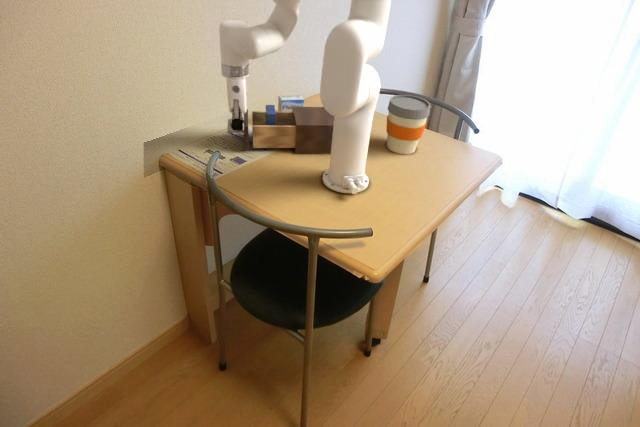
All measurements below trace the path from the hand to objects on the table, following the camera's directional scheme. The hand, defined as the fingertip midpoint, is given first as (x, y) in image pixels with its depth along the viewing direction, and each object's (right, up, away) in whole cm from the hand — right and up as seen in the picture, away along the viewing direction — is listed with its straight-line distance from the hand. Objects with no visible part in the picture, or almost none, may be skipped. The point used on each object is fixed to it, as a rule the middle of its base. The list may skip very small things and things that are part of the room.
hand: (237, 130), depth 133 cm
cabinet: (+26, -3, +6) cm, 27 cm away
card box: (+10, -2, +3) cm, 10 cm away
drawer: (+8, -3, +3) cm, 9 cm away
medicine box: (+15, +6, +18) cm, 24 cm away
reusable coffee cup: (+50, -4, +8) cm, 51 cm away
